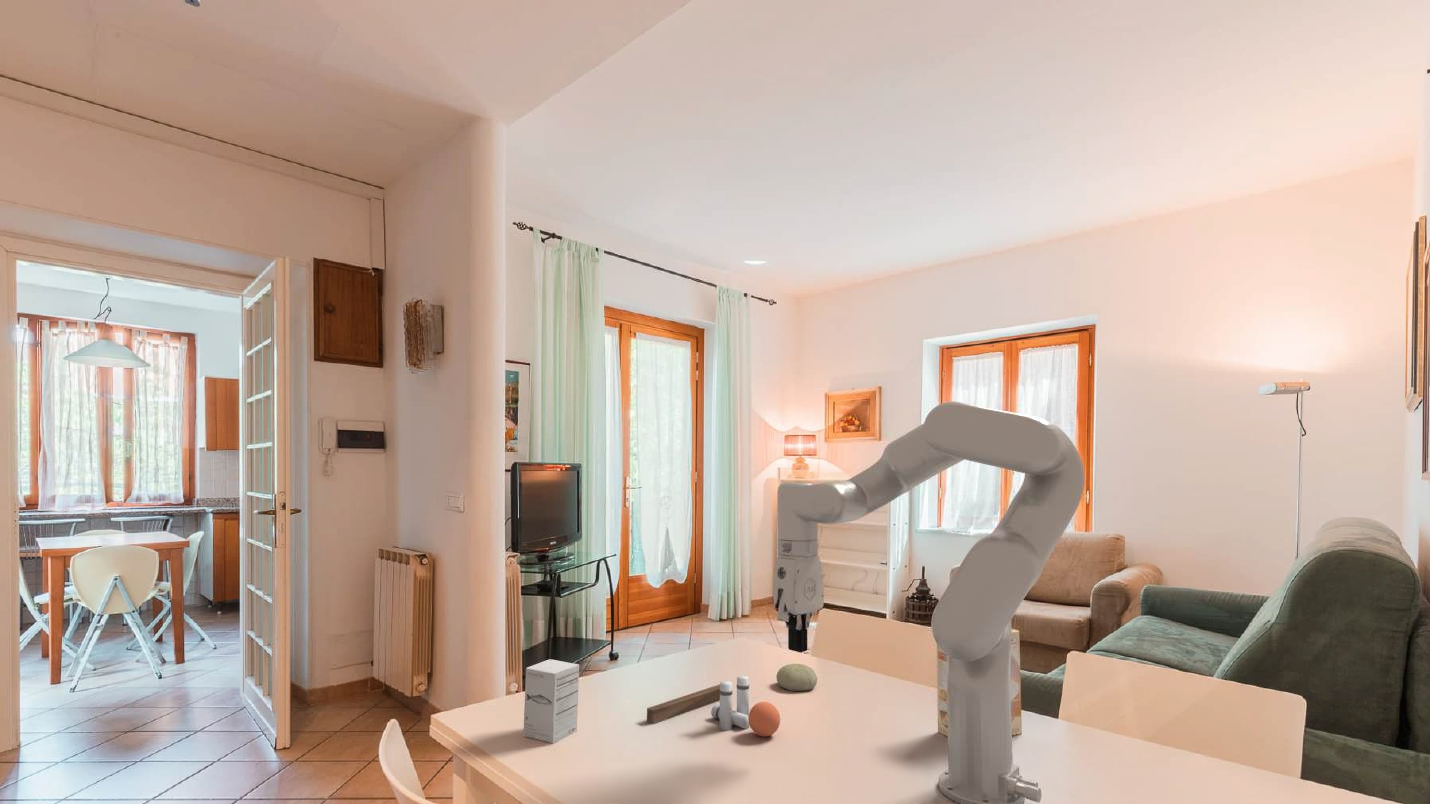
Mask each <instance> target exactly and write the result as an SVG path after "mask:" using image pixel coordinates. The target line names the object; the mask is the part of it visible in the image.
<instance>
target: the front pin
mask: <svg viewBox="0 0 1430 804" xmlns="http://www.w3.org/2000/svg"><path fill="white" fill-rule="evenodd" d="M710 715H711V717H712V718H715V719H717V720H719V721H720V704H714V705H713V706H712V707H711V712H710ZM732 726H737V727H740V728H742V729H745V730H746V729H748V728H749V727H750V725H749V716H748V715H745V714H742V713H739V712H737V710H733V709H732Z"/></svg>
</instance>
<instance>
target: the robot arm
mask: <svg viewBox="0 0 1430 804" xmlns="http://www.w3.org/2000/svg"><path fill="white" fill-rule="evenodd" d="M962 461H963V462H964V461H969V462H973V463H978V464H981V465H982V464H983V465H985V466H991V467H995V468H1000V469H1004V470H1008V471H1011V472H1012V471H1013V472H1017V473H1021V474H1024V477H1023V480H1022V484H1021V486H1020V487H1019V490H1018V491H1017V492H1016V494H1015V495H1014V497H1013V499H1012V500H1011V502H1010V504H1009V505H1008V507H1007V509H1006V511H1005V513H1004V515H1003V516H1002V518H1001V519H1000V521H999V522H998V524H997V525H996V527H995V528H994V530H993V531H992V532H991V533H990V534H988V535H985V536H984V537H982V538H981V539H979V540H978V541H976V542H975V543H974V545H972V547H971V548H970V550H969V551H968V552H967V554H966V555H965V557H964V559H963V560H962V562H961V564H960V566H959V567H958V569H957V570H956V571H955V574H954V575H953V576H952V579H951V580H950V582H949V583H948V585H947V587H946V588H945V591H944V592H943V594H942V596H941V597H940V598H939V601H938V602H937V604H936V606H935V608H934V610H933V612H932V616H931V619H930V620H931V623H930V624H931V632H932V636H933V639H934V641H935V643H936V646H937V645H938V646H939V647H940V649H941V650H942V651H943V652H944V653H946V654H947V724H948V737H947V761H948V763H947V764H948V765H947V766H948V769H947V770H945V771H943V772H941V774H939V776H938V788H939V790H940V791H941V792H942V794H943V795H944V796H945V797H947V798H949V799H950V800H952V801H954V802H956V803H959V804H1024V802H1025V799H1026V800H1028V801H1032V802H1034V803H1035V802H1036V803H1037V804H1038V803H1041V799H1042V790H1041V788H1039V784H1038V782H1037V781H1034V780H1031V779H1027V778H1023V776H1022V775H1020V765H1016V764H1013V761H1014V760H1013V736H1012V725H1011V678H1010V657H1011V633H1012V629H1013V628H1012V618H1013V617H1014V615H1015V614H1016V612H1017V610H1018V609H1019V607H1020V605H1021V604H1022V602H1023V601H1024V599H1025V598H1026V596H1027V594H1028V593H1029V591H1030V590H1031V589H1032V588H1033V587H1034V586H1035V585H1036V584H1037V582H1038V581H1039V579H1040V577H1041V575H1042V573H1043V570H1044V567H1045V566H1046V564H1047V562H1048V560H1049V559H1050V557H1051V555H1052V553H1053V552H1054V550H1055V548H1056V546H1057V545H1058V543H1059V542H1060V540H1061V538H1062V536H1063V535H1064V532H1065V530H1066V529H1067V527H1068V526H1069V523H1070V522H1071V521H1072V519H1073V517H1074V515H1075V513H1076V512H1077V509H1078V507H1079V505H1080V502H1081V500H1082V497H1083V494H1084V488H1085V479H1086V478H1085V469H1084V464H1083V460H1082V458H1081V455H1080V453H1079V451H1078V449H1077V447H1076V446H1075V444H1074V442H1073V441H1072V440H1071V439H1070V437H1069V436H1068V434H1066V432H1064V431H1063V429H1061V427H1059V426H1058V425H1056V424H1055V423H1053V422H1051V421H1049V420H1046V419H1043V418H1041V417H1037V416H1033V415H1027V414H1022V413H1017V412H1016V413H1015V412H1010V411H1005V410H1001V409H1000V410H999V409H993V408H987V407H983V406H978V405H972V404H968V403H965V402H961V401H945V402H942V403H940V404H938V405H936V406H935V407H933V408H932V409H931V411H929V413H928V414H927V416H926V417H925V420H924V422H923V423H922V424H920V425H919V426H917V427H915V428H913V429H912V430H910V431H908V432H907V433H905V434H903V435H902V436H899V437H898V438H896V439H895V440H893V441H891V442H889V443H888V444H887V445H886V447H885V448H884V450H883V453H882V455H881V457H880V458H879V459H878V460H877V461H876V462H875V463H873V464H872V465H871V466H869V467H868V468H866V469H865V470H863V471H861V472H859V473H858V474H856V475H854V476H852V477H851V478H849V479H847V480H843V481H827V482H819V483H811V482H798V481H788V482H783V483H780V484H779V485H778V488H777V494H776V495H777V496H776V497H777V501H776V502H777V505H776V506H777V507H776V508H777V509H776V510H777V515H776V516H777V517H776V518H777V519H776V522H777V523H776V525H777V526H776V527H777V529H776V530H777V533H776V535H777V538H776V539H777V541H776V542H777V545H776V546H777V550H776V552H777V554H776V555H777V557H776V561H775V567H774V568H775V569H774V578H773V609H774V611H776V612H777V616H776V618H777V621H780V622H784V623H785V626H786V629H788V630H787V635H788V636H787V637H788V638H787V639H788V641H787V643H788V644H787V645H788V646H787V647H788V648H787V649H788V651H789V650H790V651H793V652H796V653H797V652H798V653H803V652H807V651H808V629H809V627H810V624H811V623H810V622H811V618H812V616H814V615H816V614H817V612H818V611H819V610H821V609H822V608H823V607H824V603H825V597H824V596H825V594H824V593H825V591H824V589H825V588H824V577H823V569H822V567H823V566H822V562H821V558H820V557H821V556H820V555H819V539H818V538H819V534H818V533H819V525H818V524H822V525H838V524H844V523H848V522H854V521H857V520H860V519H861V518H864V517H866V516H868V515H869V514H872V513H873V512H875V511H877V510H878V509H880V508H882V507H885V506H886V505H888V504H889V503H891V502H893V501H894V500H896V499H897V498H899V497H900V496H902V495H904V494H906V493H908V492H910V491H911V490H913V489H914V488H915V487H917V486H919V485H921V484H922V483H924V482H926V481H928V480H929V479H931V478H933V477H936V475H938V474H940V473H942V472H943V471H945V470H948V469H950V468H952V467H954V466H955V465H957V464H959V463H961V462H962Z"/></svg>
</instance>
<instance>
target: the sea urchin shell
mask: <svg viewBox="0 0 1430 804" xmlns="http://www.w3.org/2000/svg"><path fill="white" fill-rule="evenodd" d="M775 676H776V682H777V683H778V685H779V686H780V687H781V688H783V689H785V690H787V691H790V692H805V691H810V690H812V689H814V688H815V687H816V686H817V683H818V676H817V673H816V672H815V670H814V669H813V668H812V667H810V666H808V665H806V664H801V663H789V664H786V665H783V666H782V667H781V668H779V669H778V670H777V673H776V675H775Z"/></svg>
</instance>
